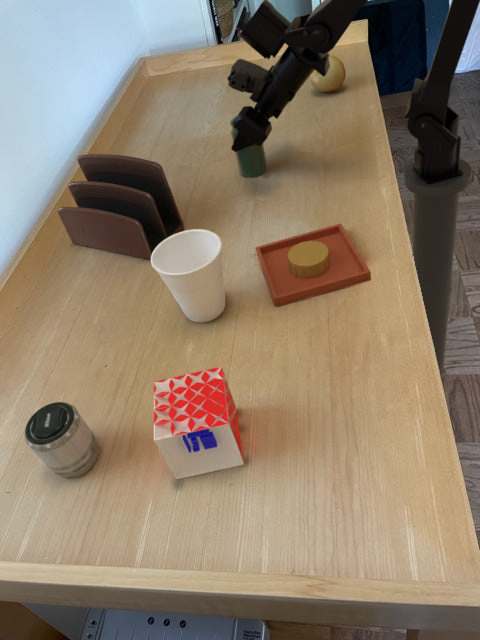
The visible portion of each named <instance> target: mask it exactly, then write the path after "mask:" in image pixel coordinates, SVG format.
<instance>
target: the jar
mask: <svg viewBox="0 0 480 640" xmlns="http://www.w3.org/2000/svg"><path fill="white" fill-rule="evenodd" d="M236 117H237V115H236V116H234V117H233V118H232V119H231V120H230V122H229V124H230V125H231V126H230V127H231V131H230V136H231V140H232V143H233V142H234V140H235V137H236V135H237V132H238V130H237V129H236V128H235V127H234V126H233V124H232V122H233V121H234V120H235V118H236ZM234 153H235V158H236V162H237V167H238V172H239V175H240V176H241V177H243V178H247V179H249V178H250V179H251V178H258V177H259V176H261V175H263V174H265V173H266V172H267V170H268V162H267V157H266V152H265V147H264V143H263V144H262V145H261V146H257V145H256V144H255V145H252V146H250V147H247V148H245V149H242V150H240V151H237V152H234Z"/></svg>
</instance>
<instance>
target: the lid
mask: <svg viewBox="0 0 480 640" xmlns="http://www.w3.org/2000/svg"><path fill="white" fill-rule="evenodd" d="M288 263H289V268H290V270H291V272H292V273H293V274H294V275H296V276H298V277H302V278H312V277H316V276H319V275H321V274H322V273H324V272H325V271H326V270H327V269H328V267H329V264H330V256H329V252H328V248H327V246H326V245H324V244H323V243H321V242H317V241H305V242H301V243H299V244H297V245H295V246H293V247H292V248H291V249H290V251H289V253H288Z"/></svg>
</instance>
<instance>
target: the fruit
mask: <svg viewBox="0 0 480 640" xmlns="http://www.w3.org/2000/svg"><path fill="white" fill-rule="evenodd" d="M329 64H330V68H329V70H328V72H327V73H326V75H325V76H322V75H321V74H319V73H318V72H317V71H316V70H314V71H313V72H312V74H311V75H310V76H309V80H310V83H311V85H312V87H313V88H314V89H316V90H317V91H319V92H320V93H321V92H322V93H331V92H334V91H335V90H338V89H340V88H341V86H342V85H343V83H344V81H345V80H346V75H347V74H346V71H347V70H346V69H345V65H344V62H342V60H341V59H339V58H338V57H337V56H335V55H330V54H329Z"/></svg>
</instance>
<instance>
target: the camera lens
mask: <svg viewBox="0 0 480 640" xmlns="http://www.w3.org/2000/svg"><path fill="white" fill-rule="evenodd" d="M24 441H25V443H26V444H27V445H28V446H29V447H30V449H31V450H32V452H34V453H35V454H36V456H37V457H38V458H39V459H40V460H41V461H42V462H43V463H44V465H45V467H47V469H48V470H49V471H51V472H53V474H55V475H57V476H59V477H61V478H63V479H74V478H79V477H80V476H82V475H85V474H86V473H87V472H88V471H89V470H91V468H92V467H93V466H94V465H95V463H96V462H97V460H98V457H99V450H100V446H99V444H98V441H97V439H96V436H95V434H94V432H93V430H91V427H90V426H89V425H88V424H87V422H86V421H85V419H84V418H83V417H82V415H81V413H80V412H79V411H78V409H77V407H75V406H74V405H73V404H71V403H69V402H66V401H65V402H64V401H56V402H51V403H49V404H46V405H43V406H42V407H41V408H39V409H38V410H36V411H35V412H34V413H33V414H32V415H31V417H30V418H29V419H28V421H27V423H26V425H25V428H24Z"/></svg>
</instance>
